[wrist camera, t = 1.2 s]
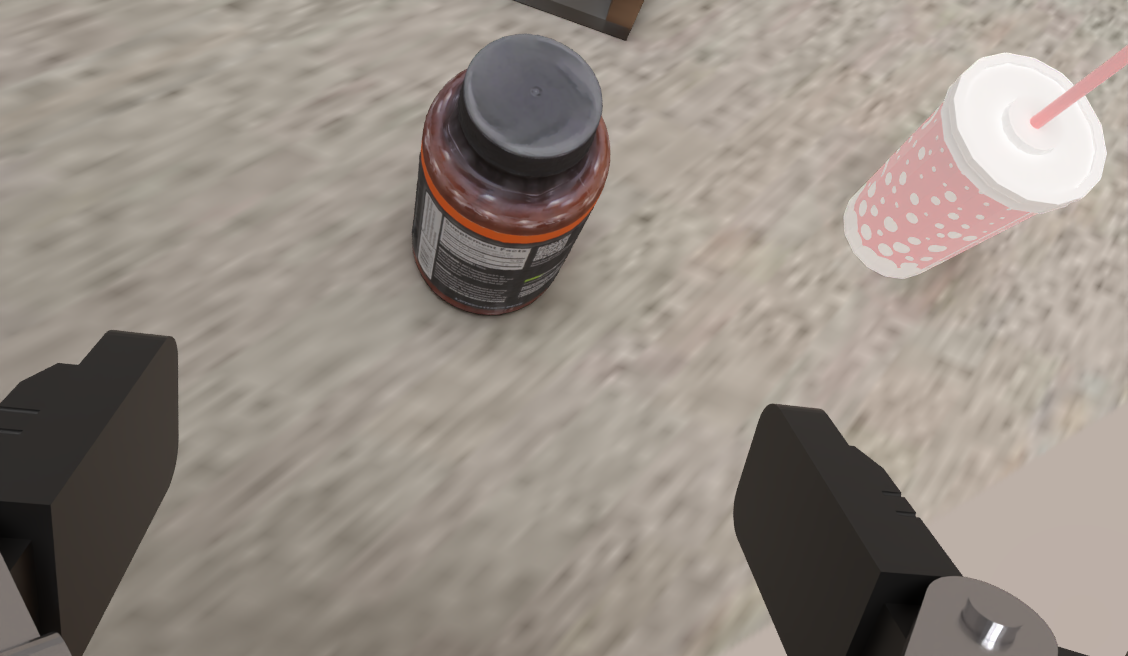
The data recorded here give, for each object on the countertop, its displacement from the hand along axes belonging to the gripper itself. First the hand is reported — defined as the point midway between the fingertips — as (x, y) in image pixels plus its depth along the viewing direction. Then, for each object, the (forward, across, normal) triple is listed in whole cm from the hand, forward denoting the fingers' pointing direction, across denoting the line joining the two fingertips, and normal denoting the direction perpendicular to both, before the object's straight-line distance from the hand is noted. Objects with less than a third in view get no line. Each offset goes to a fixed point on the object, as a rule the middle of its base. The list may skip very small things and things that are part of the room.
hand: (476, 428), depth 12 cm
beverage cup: (+25, -19, +4) cm, 32 cm away
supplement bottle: (+23, -1, +6) cm, 23 cm away
